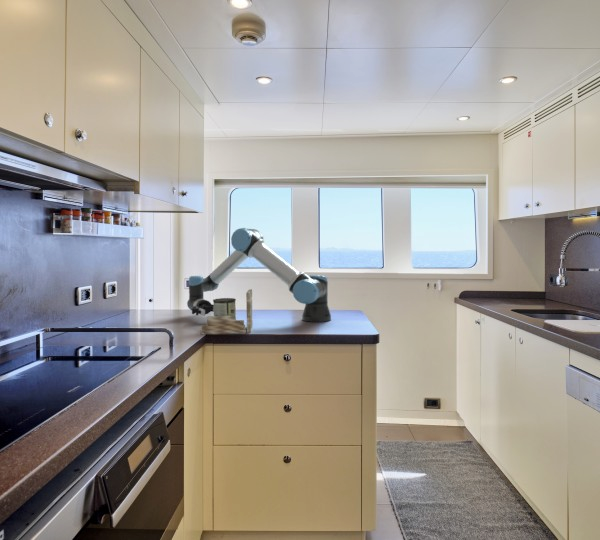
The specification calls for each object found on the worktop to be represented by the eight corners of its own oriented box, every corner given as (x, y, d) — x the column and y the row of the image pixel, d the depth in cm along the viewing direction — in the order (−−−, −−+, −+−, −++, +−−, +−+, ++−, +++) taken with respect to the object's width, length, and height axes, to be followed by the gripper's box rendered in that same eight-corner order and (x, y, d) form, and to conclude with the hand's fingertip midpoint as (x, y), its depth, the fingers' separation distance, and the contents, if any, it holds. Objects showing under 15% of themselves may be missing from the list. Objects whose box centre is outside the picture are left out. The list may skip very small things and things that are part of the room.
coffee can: (217, 327, 199) (216, 297, 198) (238, 327, 198) (238, 298, 197) (210, 331, 188) (210, 300, 188) (232, 331, 187) (232, 300, 187)
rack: (252, 326, 199) (252, 289, 198) (250, 333, 183) (249, 292, 182) (206, 327, 198) (205, 290, 197) (200, 334, 182) (199, 293, 181)
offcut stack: (245, 329, 185) (244, 315, 185) (244, 329, 183) (244, 316, 183) (202, 329, 184) (201, 316, 184) (201, 330, 182) (201, 317, 182)
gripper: (225, 311, 224) (241, 316, 206) (179, 316, 210) (192, 322, 192) (224, 297, 223) (241, 301, 206) (178, 301, 210) (192, 306, 192)
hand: (217, 311), depth 199 cm, fingers open, 13 cm apart
